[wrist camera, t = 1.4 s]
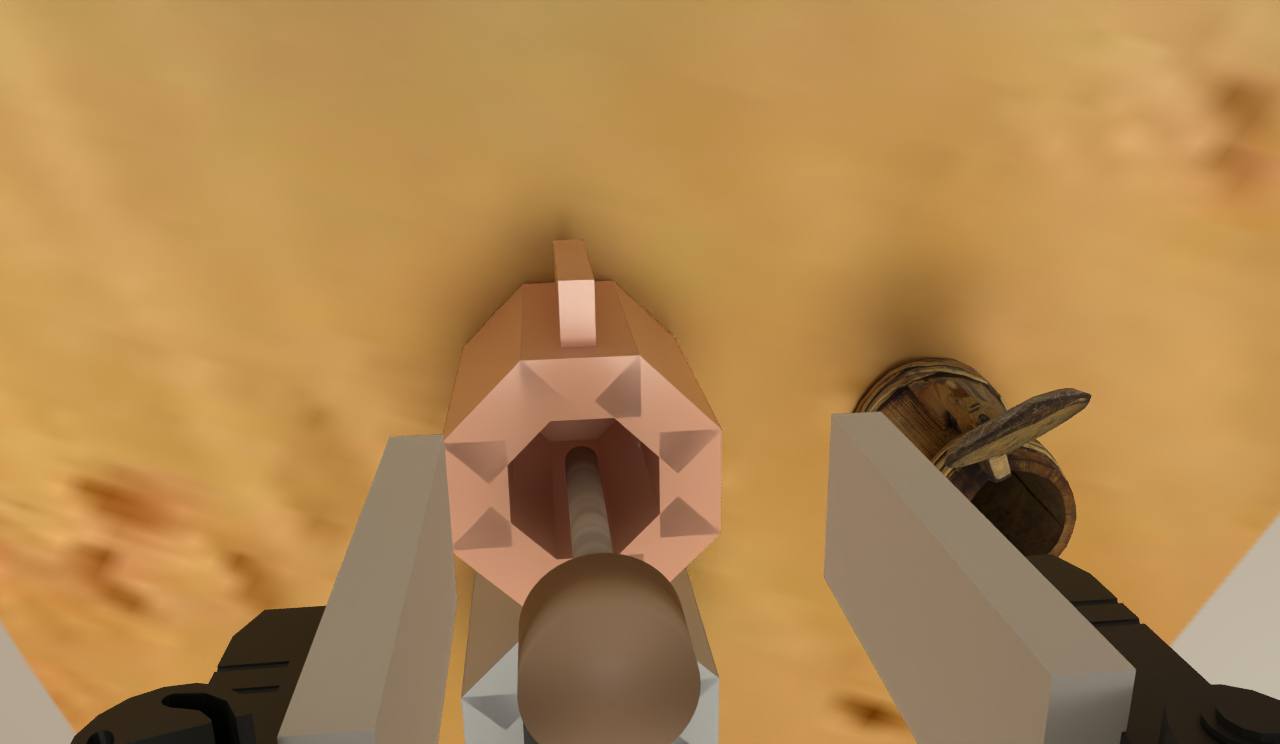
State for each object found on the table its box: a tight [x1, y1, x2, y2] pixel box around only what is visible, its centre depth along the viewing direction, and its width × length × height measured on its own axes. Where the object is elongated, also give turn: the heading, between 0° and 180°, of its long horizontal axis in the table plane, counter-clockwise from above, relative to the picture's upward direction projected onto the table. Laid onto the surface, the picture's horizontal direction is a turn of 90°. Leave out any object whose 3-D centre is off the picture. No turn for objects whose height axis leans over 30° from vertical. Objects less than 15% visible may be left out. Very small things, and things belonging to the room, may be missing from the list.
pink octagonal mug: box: [443, 239, 722, 606], centre depth 46 cm, size 14×11×14 cm
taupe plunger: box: [517, 446, 701, 744], centre depth 34 cm, size 5×5×16 cm
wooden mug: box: [855, 358, 1091, 557], centre depth 47 cm, size 9×14×18 cm, turn 22°
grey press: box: [461, 567, 719, 744], centre depth 50 cm, size 14×11×14 cm
